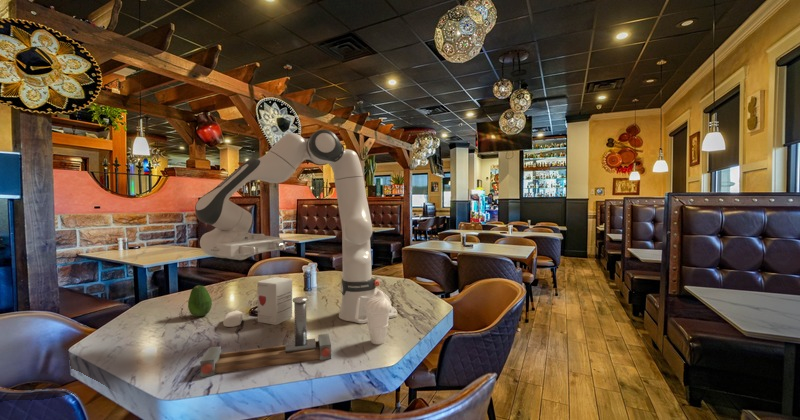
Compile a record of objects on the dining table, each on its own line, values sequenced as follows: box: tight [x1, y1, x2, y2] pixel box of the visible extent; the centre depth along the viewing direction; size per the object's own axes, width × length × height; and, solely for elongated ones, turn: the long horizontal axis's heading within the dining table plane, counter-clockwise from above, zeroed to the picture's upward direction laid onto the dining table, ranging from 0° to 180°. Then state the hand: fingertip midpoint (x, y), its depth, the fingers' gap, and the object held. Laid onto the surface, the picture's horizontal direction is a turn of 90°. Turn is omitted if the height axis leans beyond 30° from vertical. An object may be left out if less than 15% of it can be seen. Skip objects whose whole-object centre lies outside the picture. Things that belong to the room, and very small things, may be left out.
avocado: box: [187, 284, 213, 317], centre depth 127 cm, size 8×8×12 cm
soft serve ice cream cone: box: [364, 290, 392, 345], centre depth 102 cm, size 8×8×16 cm
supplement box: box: [256, 276, 293, 326], centre depth 122 cm, size 9×9×15 cm
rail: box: [199, 333, 332, 378], centre depth 90 cm, size 32×8×4 cm, turn 107°
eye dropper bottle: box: [222, 309, 244, 328], centre depth 121 cm, size 4×6×12 cm
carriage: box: [285, 296, 316, 353], centre depth 92 cm, size 8×4×15 cm, turn 107°
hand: (269, 248), depth 98 cm, fingers open, 8 cm apart
